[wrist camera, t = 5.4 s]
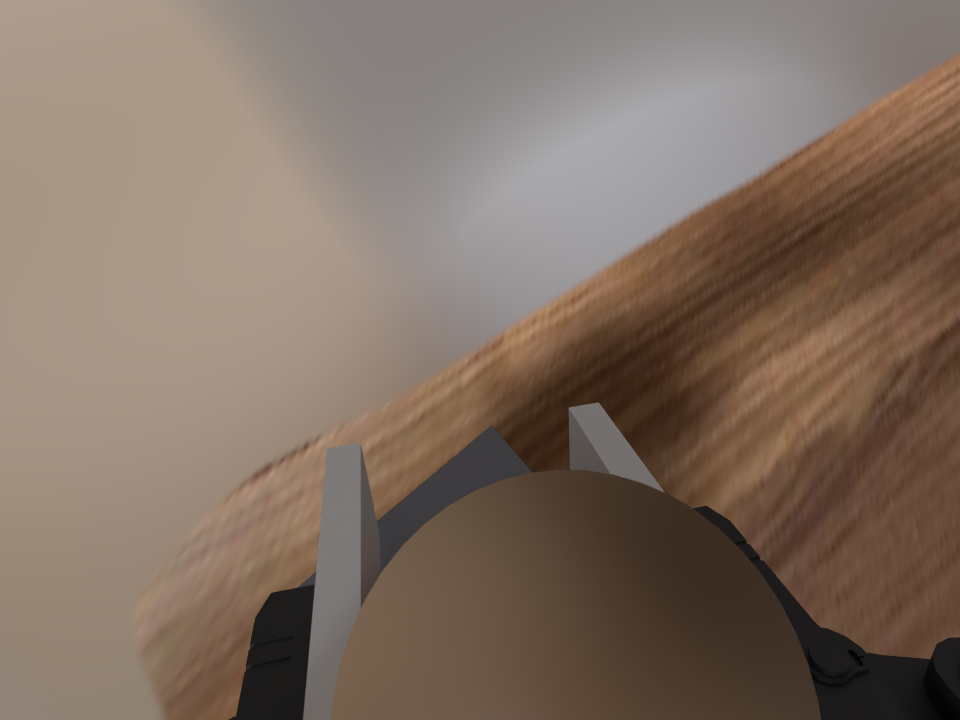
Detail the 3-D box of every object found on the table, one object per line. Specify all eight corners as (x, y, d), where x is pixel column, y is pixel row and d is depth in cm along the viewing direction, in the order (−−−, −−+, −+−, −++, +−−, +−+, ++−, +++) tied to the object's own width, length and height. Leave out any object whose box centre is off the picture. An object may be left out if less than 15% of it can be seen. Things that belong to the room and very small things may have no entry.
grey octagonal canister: (624, 632, 32) (725, 664, 21) (470, 792, 29) (491, 930, 18) (475, 456, 35) (493, 401, 24) (320, 586, 32) (256, 595, 21)
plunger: (577, 620, 21) (922, 743, 6) (470, 727, 20) (574, 1221, 5) (485, 510, 22) (587, 384, 7) (378, 605, 21) (226, 693, 6)
